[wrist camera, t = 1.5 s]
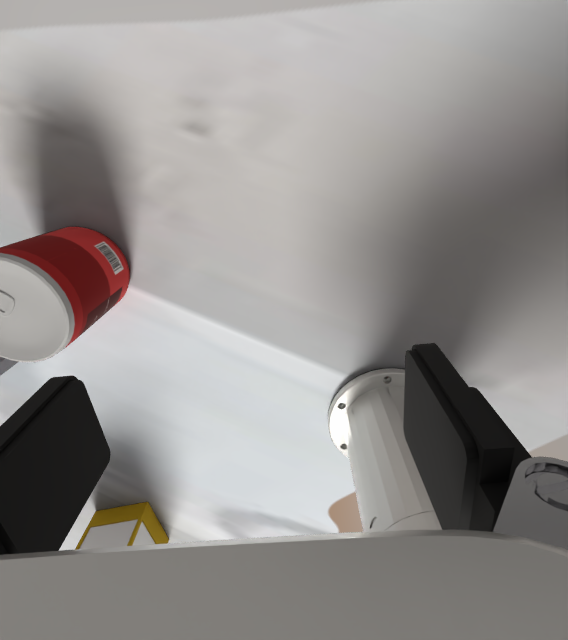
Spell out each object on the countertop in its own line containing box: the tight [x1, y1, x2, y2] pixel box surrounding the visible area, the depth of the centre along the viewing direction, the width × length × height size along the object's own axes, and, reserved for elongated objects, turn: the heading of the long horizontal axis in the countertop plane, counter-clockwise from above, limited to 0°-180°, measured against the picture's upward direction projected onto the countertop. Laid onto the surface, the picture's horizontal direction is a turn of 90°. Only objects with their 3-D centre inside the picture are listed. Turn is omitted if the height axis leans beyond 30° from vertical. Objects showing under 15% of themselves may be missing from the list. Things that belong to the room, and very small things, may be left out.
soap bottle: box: [75, 502, 169, 550], centre depth 38 cm, size 7×13×24 cm, turn 104°
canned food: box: [0, 227, 130, 362], centre depth 30 cm, size 8×8×11 cm
